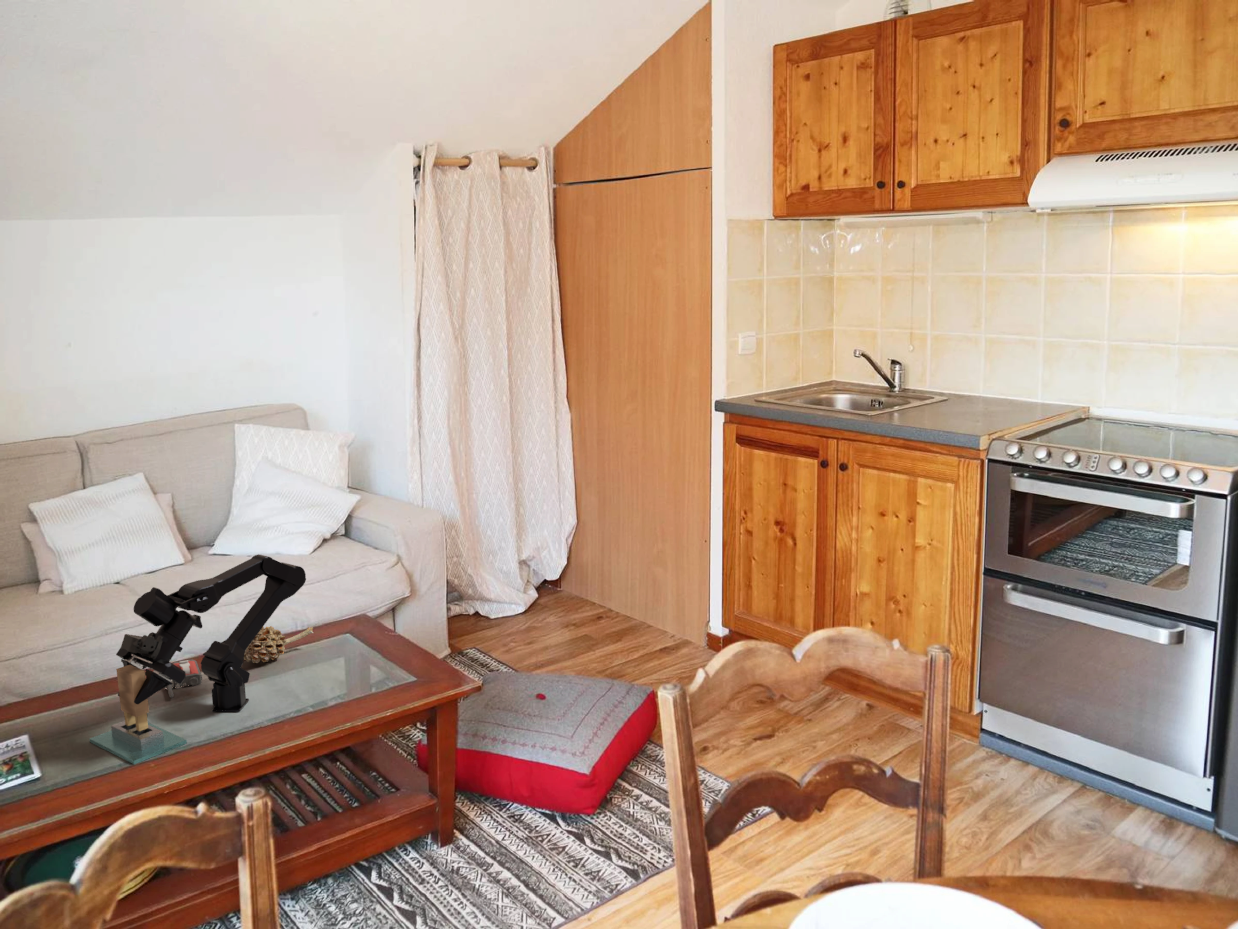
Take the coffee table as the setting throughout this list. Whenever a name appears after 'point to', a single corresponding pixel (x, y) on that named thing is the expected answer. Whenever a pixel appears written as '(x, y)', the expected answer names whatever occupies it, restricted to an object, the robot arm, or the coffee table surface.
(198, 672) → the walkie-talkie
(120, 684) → the tan cardboard brick
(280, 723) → the coffee table surface
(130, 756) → the teal holder base
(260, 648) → the dried banksia seed pod
